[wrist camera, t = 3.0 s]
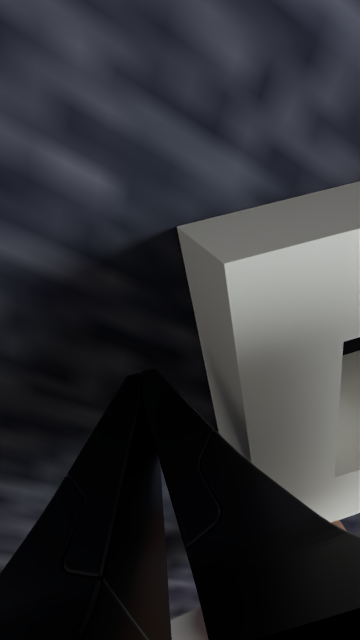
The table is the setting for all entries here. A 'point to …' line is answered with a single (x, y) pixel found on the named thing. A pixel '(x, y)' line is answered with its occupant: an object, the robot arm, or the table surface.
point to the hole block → (285, 339)
